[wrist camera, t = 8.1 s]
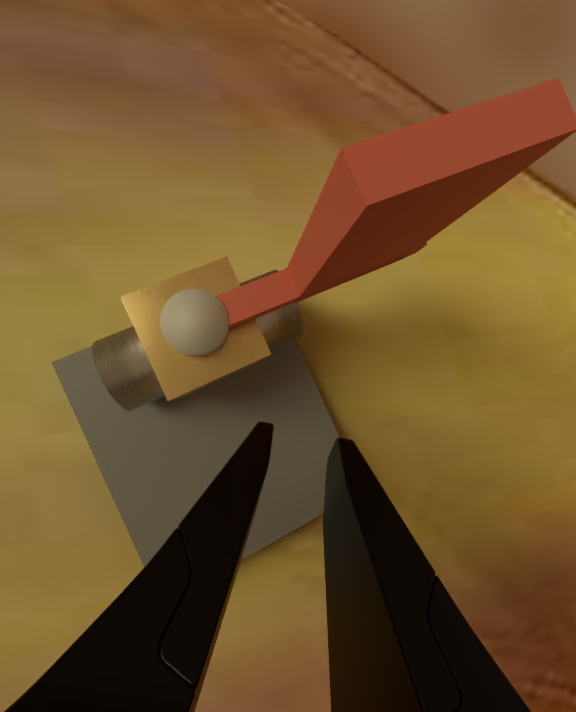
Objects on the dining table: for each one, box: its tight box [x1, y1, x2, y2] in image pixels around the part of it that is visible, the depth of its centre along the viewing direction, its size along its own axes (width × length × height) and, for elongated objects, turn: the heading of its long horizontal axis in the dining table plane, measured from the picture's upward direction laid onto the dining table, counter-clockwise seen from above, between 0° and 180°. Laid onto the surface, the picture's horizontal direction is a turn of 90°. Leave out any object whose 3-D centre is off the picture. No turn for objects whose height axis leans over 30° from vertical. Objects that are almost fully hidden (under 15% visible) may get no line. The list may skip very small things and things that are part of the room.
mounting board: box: [52, 338, 340, 567], centre depth 18 cm, size 14×12×1 cm
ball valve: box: [92, 257, 303, 411], centre depth 15 cm, size 4×9×5 cm, turn 115°
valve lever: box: [160, 79, 576, 356], centre depth 10 cm, size 11×2×8 cm, turn 114°
